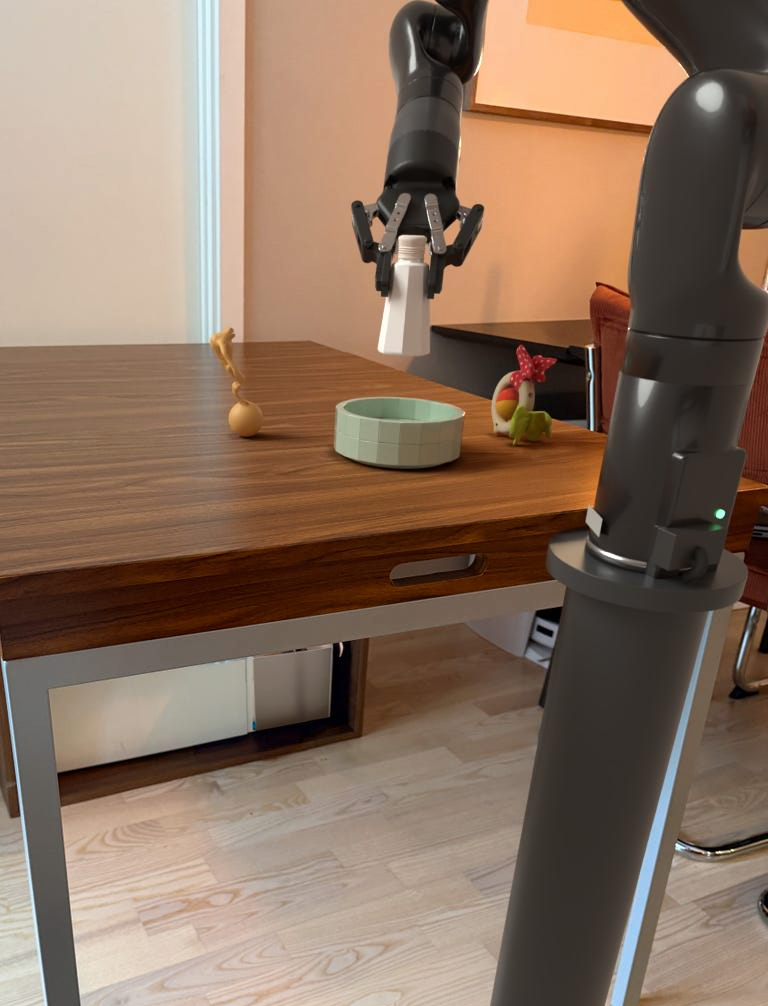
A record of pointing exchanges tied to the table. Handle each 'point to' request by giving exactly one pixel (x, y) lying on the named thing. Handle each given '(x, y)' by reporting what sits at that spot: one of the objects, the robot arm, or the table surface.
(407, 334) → the pepper shaker
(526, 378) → the bird rattle
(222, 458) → the table surface
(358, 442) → the bowl
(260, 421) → the figurine
